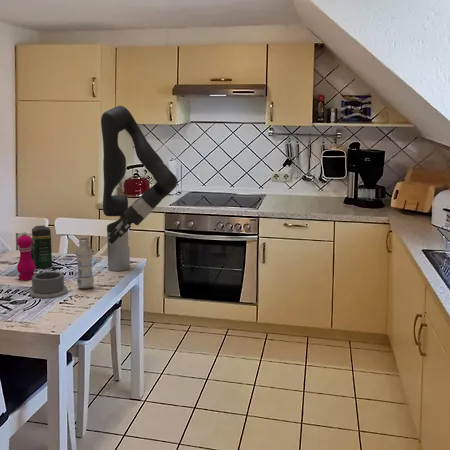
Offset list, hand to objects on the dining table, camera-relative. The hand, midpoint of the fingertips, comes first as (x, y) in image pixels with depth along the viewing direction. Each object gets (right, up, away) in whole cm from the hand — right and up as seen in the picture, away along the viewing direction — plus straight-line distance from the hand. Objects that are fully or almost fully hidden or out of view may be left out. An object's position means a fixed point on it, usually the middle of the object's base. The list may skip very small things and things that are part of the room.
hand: (110, 239), depth 217 cm
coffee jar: (-37, -13, +31) cm, 50 cm away
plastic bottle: (-10, -19, +2) cm, 22 cm away
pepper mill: (-38, -17, +13) cm, 44 cm away
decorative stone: (-45, -10, +44) cm, 64 cm away
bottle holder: (-23, -20, -4) cm, 31 cm away
